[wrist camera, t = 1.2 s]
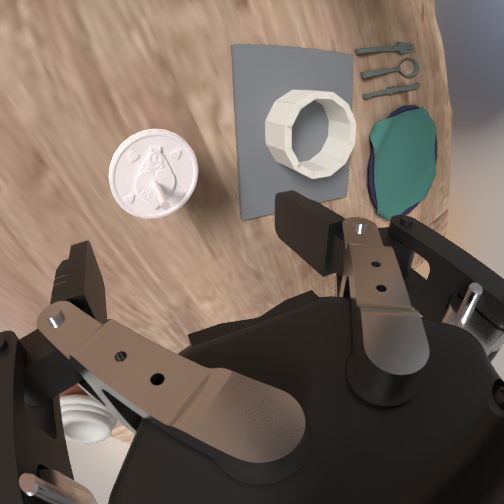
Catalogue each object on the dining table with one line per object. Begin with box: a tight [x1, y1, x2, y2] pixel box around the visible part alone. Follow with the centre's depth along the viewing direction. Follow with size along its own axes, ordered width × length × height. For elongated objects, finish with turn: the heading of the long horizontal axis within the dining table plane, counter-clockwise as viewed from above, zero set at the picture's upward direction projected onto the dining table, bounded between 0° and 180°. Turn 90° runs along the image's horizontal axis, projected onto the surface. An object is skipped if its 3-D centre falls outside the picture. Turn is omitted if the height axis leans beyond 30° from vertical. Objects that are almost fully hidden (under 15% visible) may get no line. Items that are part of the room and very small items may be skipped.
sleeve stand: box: [231, 44, 356, 221], centre depth 31 cm, size 20×16×5 cm
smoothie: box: [109, 129, 198, 219], centre depth 21 cm, size 6×6×14 cm
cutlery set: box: [355, 42, 437, 221], centre depth 39 cm, size 20×30×2 cm, turn 16°
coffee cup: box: [59, 384, 117, 444], centre depth 29 cm, size 9×9×12 cm
